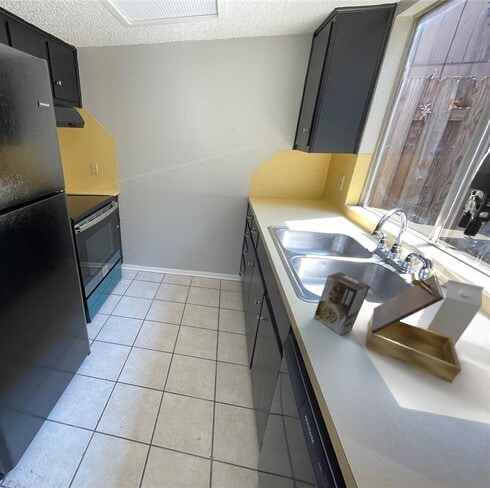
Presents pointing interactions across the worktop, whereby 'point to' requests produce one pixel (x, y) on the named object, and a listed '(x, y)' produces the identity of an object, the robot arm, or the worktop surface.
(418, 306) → the cover
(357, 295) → the coffee box
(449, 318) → the milk carton
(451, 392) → the worktop surface
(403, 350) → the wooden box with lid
